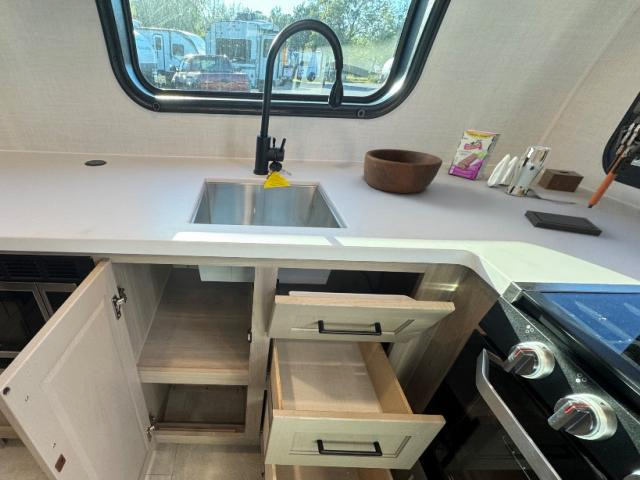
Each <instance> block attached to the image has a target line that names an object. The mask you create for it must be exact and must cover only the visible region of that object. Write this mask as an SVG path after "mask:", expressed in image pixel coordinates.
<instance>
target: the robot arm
mask: <svg viewBox="0 0 640 480" xmlns="http://www.w3.org/2000/svg"><path fill="white" fill-rule="evenodd" d="M634 107H635V108H634V109H633V111H632V112H633V114H636V115H638V116H637V117H636V118H635V119H634V121H633V122H632V123H631V124H630V125H624V126H622V128H621V130H620V132H619V135H618V138H617V140H616V143H615V146H614V149H613V151H614V152H615V157H614V158H613V160H612V161H611V163H610V165H608V167H607V169H606V171H607V172H608V173H609V172H610V171H611V169H612V168H613V166H614V165H615V163H616V162H617V161H618V159H619V158H620V156H621V155H622V153H623V152H624V151H625V152H624V154H623V155H622V157H621V158H620V159H619V161H618V162H617V164H616V165H615V167H614V168H613V170H612V171H611V173H613V174H618V175H623V174H625V172H626V171H627V170H628V168H630V166H631V164H632V163H633V161H634V160H635V159H638V158H640V100H639V101H638V103H637V104H636V106H634Z"/></svg>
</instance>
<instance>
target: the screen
mask: <svg viewBox="0 0 640 480" xmlns="http://www.w3.org/2000/svg"><path fill="white" fill-rule="evenodd" d="M537 212H538V211H537ZM537 212H534V214H535V215H536V216H537V217H538V218H539V219H540V221H541V222H548V223H555V224H563V225H570V226H577V227H584V228H591V229H594V228H593V227H592V226H590V225H589V224H588V223H587V222H585V221H584V220H583V219H582V218H583V217H581V218H574V217H575V216H574V217H567V216H568V215H567V216H559V215H560V214H559V215H552V214H553V213H552V214H544V213H545V212H544V213H537Z"/></svg>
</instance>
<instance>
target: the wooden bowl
mask: <svg viewBox="0 0 640 480" xmlns="http://www.w3.org/2000/svg"><path fill="white" fill-rule="evenodd" d="M363 163H364V164H363V176H364V180H365V183H366V184H367V185H368V186H369V187H371V188H372V189H376V190H380V191H383V190H384V191H383V192H388V191H389V192H388V193H394V192H395V194H417V193H420V192H422V191H424V190H426V189H427V188H428V187H429V186H430V185H431V183H432V182H433V181H434V180H435V178H436V176H437V174H438V172H439V171H440V169H441V167H442V165H443V160H442V158H440V157H439V156H437V155H433V154H431V153H426V152H421V151H415V150H409V149H396V148H379V149H371V150H368V151H367V152H366V153H365V155H364V162H363Z"/></svg>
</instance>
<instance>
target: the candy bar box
mask: <svg viewBox="0 0 640 480" xmlns="http://www.w3.org/2000/svg"><path fill="white" fill-rule="evenodd" d="M501 135H502V134H501V133H496V132H490V131H484V130H477V129H466V130H464V131H463V134H462V137H461V139H460V142H459V145H458V147H457V149H456V152H455V154H454V157H453V159H452V161H451V164H450V167H449V168H448V171H447V174H448V175H451V174H452V176H455V175H456V177H459V176H461V177H460V178H463V177H465V178H464V179H468V178H469V179H468V180H472V179H473V180H472V181H477V180H481V178H482V176H483V173H484V172H485V169H486V167H487V166H488V163H489V161H490V159H491V157H492V154H493V152H494V150H495V148H496V145H498V142H499V139H500V137H501ZM476 179H477V180H476Z"/></svg>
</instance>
